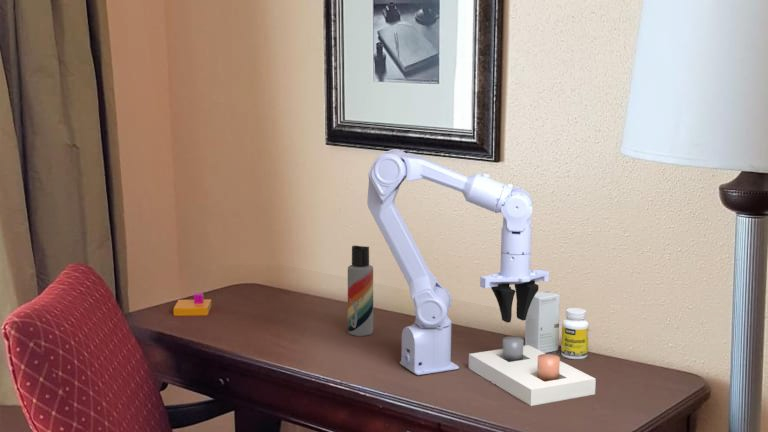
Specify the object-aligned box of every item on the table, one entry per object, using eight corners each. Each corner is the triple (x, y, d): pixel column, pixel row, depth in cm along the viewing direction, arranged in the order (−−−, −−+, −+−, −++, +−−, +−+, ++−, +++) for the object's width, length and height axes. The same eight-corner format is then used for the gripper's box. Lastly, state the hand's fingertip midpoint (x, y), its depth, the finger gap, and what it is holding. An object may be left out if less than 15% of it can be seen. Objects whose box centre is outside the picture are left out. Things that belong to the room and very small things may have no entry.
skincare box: (537, 355, 193) (539, 298, 191) (523, 349, 196) (525, 294, 194) (559, 350, 196) (561, 294, 194) (544, 345, 200) (546, 290, 198)
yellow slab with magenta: (207, 316, 221) (207, 299, 221) (173, 317, 221) (173, 300, 220) (211, 308, 229) (211, 291, 229) (178, 308, 229) (178, 291, 228)
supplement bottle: (560, 358, 190) (562, 312, 189) (561, 350, 196) (563, 305, 194) (587, 361, 189) (589, 314, 188) (587, 352, 195) (589, 307, 193)
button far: (509, 363, 180) (510, 343, 179) (498, 357, 183) (499, 337, 183) (526, 360, 181) (527, 341, 181) (515, 354, 185) (516, 335, 184)
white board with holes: (530, 405, 165) (531, 389, 164) (468, 368, 184) (468, 353, 184) (595, 394, 170) (595, 378, 170) (528, 359, 190) (528, 345, 190)
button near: (545, 383, 169) (545, 362, 168) (532, 376, 173) (533, 355, 172) (563, 380, 171) (564, 359, 170) (550, 373, 174) (551, 352, 174)
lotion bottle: (343, 334, 206) (343, 246, 203) (353, 327, 212) (353, 241, 208) (367, 337, 204) (367, 248, 201) (376, 330, 209) (377, 243, 206)
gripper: (494, 259, 172) (492, 329, 174) (559, 252, 178) (556, 321, 180) (475, 252, 178) (473, 320, 181) (538, 245, 184) (536, 312, 187)
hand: (513, 320), depth 181 cm, fingers open, 3 cm apart
